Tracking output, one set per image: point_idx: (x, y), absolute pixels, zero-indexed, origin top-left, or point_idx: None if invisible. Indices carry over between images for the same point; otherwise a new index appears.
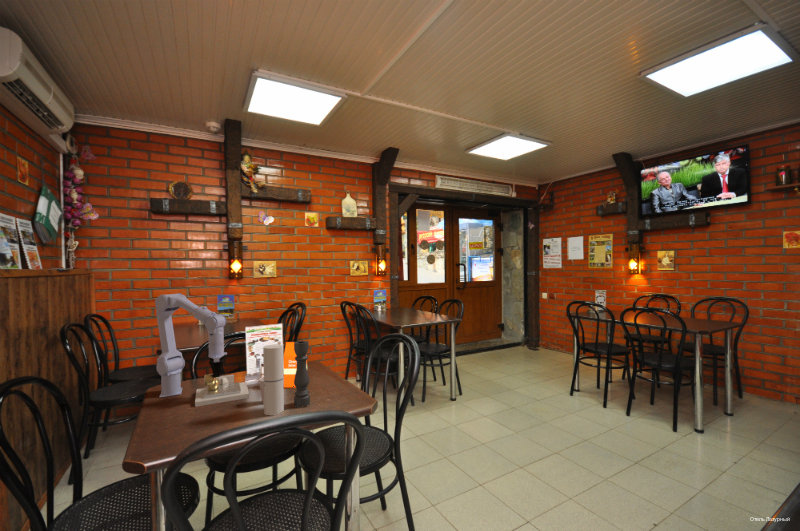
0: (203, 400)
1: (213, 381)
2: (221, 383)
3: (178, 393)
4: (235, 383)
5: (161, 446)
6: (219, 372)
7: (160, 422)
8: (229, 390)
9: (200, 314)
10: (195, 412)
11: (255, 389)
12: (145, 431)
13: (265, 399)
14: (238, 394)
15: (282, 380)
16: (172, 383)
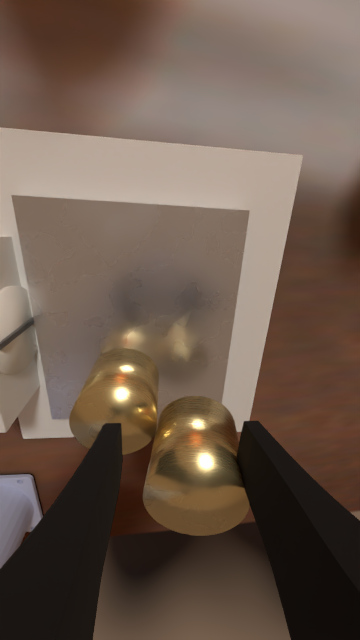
0: (246, 403)
1: (235, 431)
2: (20, 332)
3: (26, 485)
4: (47, 230)
5: None
6: (288, 463)
7: None
8: (213, 289)
9: None
10: (306, 410)
11: (116, 69)
12: (357, 503)
13: None
14: (269, 232)
15: None
16: (1, 565)
